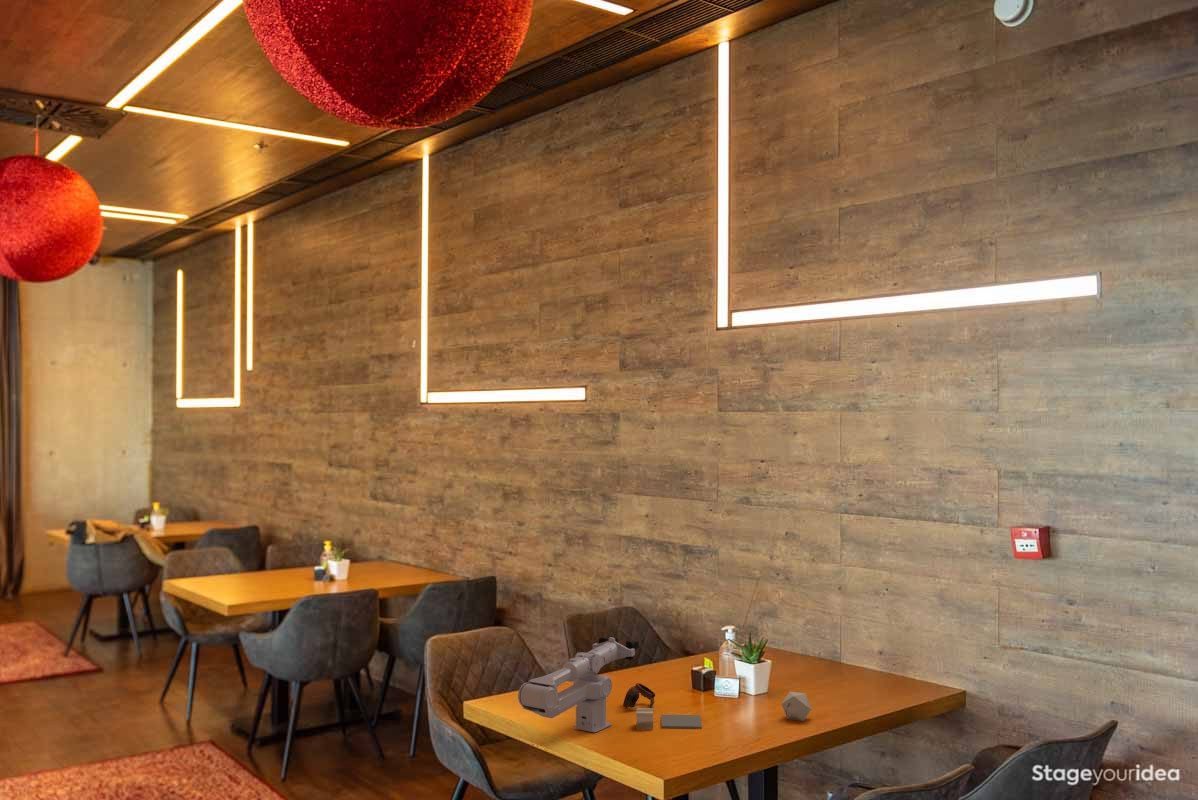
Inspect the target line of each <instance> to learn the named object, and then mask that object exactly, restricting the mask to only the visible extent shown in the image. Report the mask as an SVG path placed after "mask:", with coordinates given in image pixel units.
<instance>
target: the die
mask: <svg viewBox="0 0 1198 800" xmlns="http://www.w3.org/2000/svg"><path fill="white" fill-rule="evenodd" d="M781 706H782V709H783V711H784V714H785V717H786V719H787V720H791V721H792V720H793V721H798V722H799V721H800V722H805V720H806V719H807V716H808V715H809V714H810V712H811V711H812V710H813V708H812V707H811V704H810V701H809V699H808V696H807V693H803V692H795V691H794V692H793V691H789V692H788V694H787V695H786V696H785V698H784V699H783V701H782V702H781Z"/></svg>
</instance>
